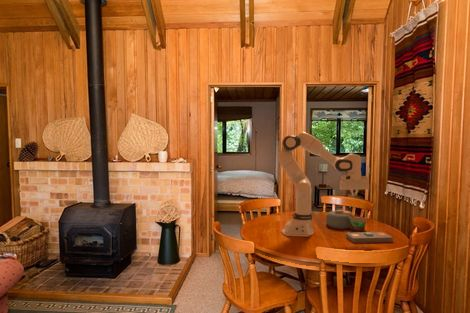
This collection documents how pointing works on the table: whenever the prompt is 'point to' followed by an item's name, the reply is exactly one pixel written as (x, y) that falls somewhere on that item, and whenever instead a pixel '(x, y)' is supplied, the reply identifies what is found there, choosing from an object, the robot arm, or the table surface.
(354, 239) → the button board
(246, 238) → the table surface
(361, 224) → the food container
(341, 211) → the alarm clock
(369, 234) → the olive green button
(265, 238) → the table surface
